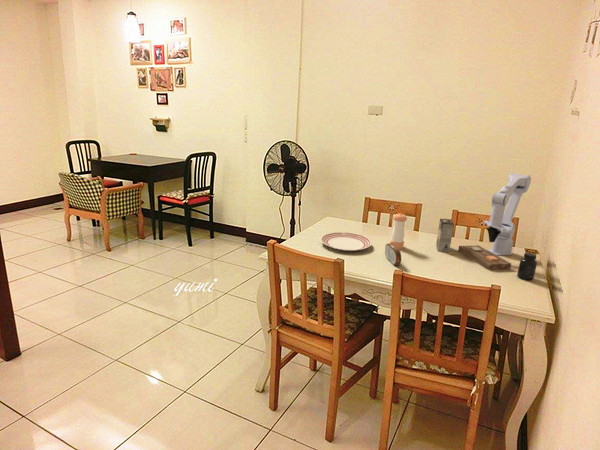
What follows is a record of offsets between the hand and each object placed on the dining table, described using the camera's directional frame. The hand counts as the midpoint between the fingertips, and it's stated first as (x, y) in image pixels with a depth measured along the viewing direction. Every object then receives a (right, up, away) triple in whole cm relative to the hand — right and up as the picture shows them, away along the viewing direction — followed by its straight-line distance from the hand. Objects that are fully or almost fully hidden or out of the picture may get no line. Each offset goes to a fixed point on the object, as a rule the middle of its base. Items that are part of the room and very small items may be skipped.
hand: (491, 241), depth 203 cm
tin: (-53, -10, -8) cm, 55 cm away
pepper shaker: (-46, -3, +14) cm, 48 cm away
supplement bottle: (+6, -16, -19) cm, 26 cm away
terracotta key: (-3, -10, -5) cm, 12 cm away
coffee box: (-20, -5, +14) cm, 25 cm away
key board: (-4, -9, +1) cm, 10 cm away
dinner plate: (-74, -3, +13) cm, 75 cm away
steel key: (-5, -7, +7) cm, 11 cm away
